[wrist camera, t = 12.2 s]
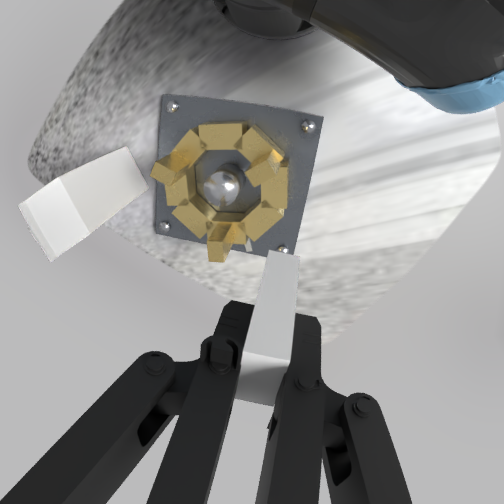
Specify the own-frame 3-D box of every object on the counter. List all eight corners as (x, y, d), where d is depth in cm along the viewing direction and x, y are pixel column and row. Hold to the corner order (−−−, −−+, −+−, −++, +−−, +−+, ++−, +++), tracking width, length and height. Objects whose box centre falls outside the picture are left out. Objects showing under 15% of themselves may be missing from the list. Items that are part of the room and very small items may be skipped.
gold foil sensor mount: (180, 231, 45) (157, 259, 38) (168, 124, 38) (139, 134, 31) (287, 236, 42) (282, 267, 36) (288, 121, 35) (284, 129, 28)
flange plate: (166, 94, 37) (146, 96, 32) (323, 116, 35) (325, 120, 31) (158, 230, 47) (142, 247, 42) (291, 258, 45) (289, 280, 41)
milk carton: (127, 145, 41) (33, 190, 25) (150, 188, 44) (68, 252, 27) (94, 167, 43) (4, 218, 27) (116, 206, 46) (36, 271, 30)
